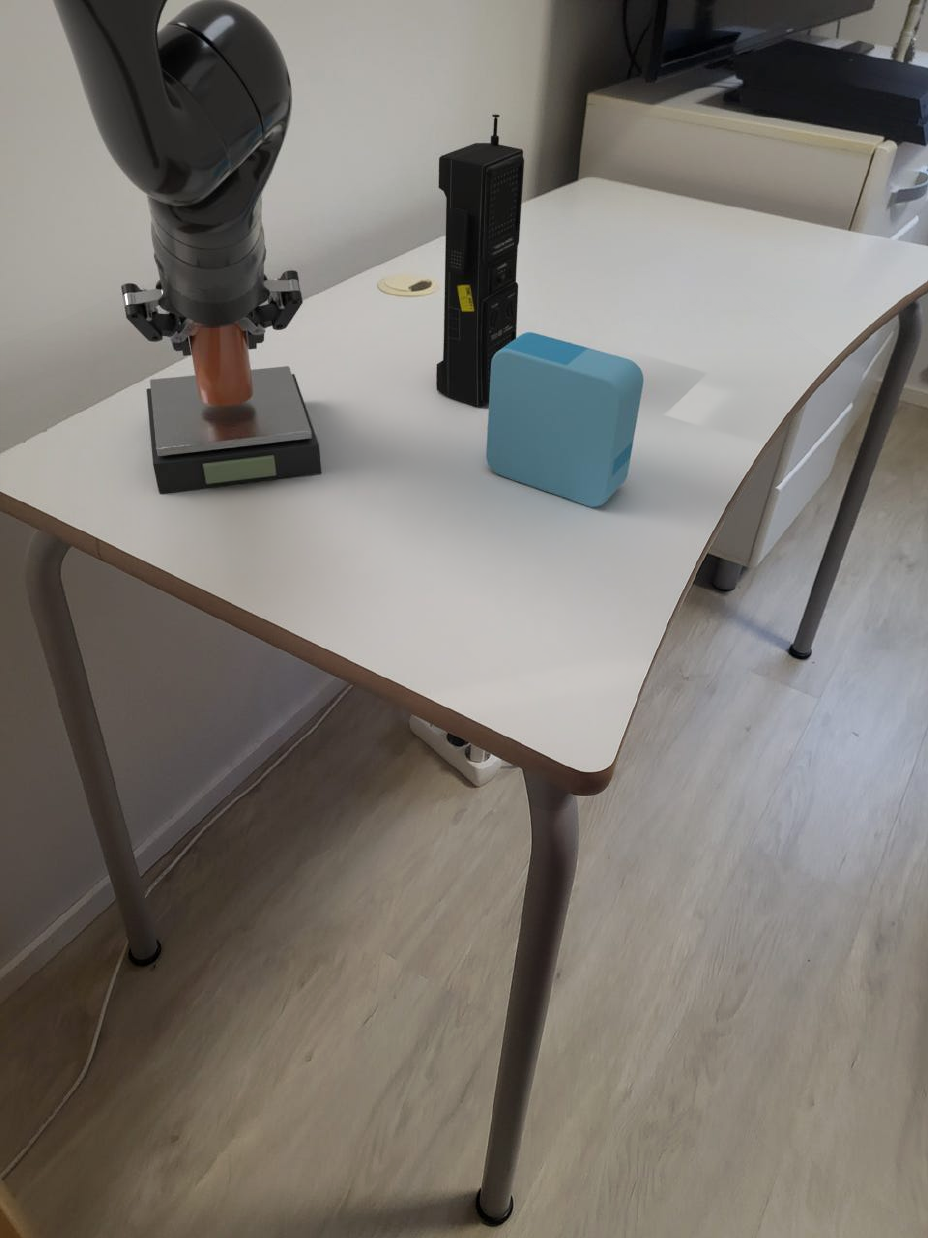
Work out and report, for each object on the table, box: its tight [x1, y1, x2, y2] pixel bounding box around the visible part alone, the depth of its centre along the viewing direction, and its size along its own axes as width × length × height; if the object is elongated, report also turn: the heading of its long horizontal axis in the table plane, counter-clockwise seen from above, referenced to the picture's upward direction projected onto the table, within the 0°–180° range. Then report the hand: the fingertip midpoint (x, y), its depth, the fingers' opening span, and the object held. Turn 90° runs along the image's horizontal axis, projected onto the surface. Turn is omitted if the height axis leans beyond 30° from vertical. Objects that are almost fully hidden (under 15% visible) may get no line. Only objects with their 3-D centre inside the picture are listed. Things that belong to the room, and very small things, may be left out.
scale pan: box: [149, 365, 312, 456], centre depth 85 cm, size 13×13×1 cm
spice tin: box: [188, 323, 254, 407], centre depth 81 cm, size 5×5×8 cm
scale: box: [146, 373, 322, 495], centre depth 86 cm, size 14×14×3 cm
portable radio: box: [435, 114, 525, 408], centre depth 88 cm, size 8×6×25 cm
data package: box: [485, 331, 644, 508], centre depth 80 cm, size 12×4×12 cm, turn 59°
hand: (217, 341), depth 82 cm, fingers closed on spice tin, 5 cm apart
